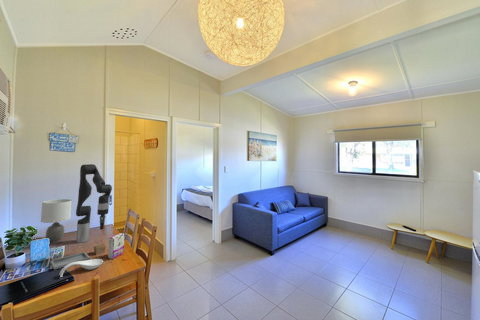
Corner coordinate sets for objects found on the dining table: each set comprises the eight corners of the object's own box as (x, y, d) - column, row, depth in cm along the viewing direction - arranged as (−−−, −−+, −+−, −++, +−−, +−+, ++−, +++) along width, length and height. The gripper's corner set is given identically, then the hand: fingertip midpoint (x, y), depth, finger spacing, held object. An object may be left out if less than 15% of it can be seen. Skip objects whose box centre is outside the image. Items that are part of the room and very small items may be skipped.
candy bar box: (119, 252, 162) (120, 232, 163) (124, 253, 161) (125, 233, 162) (107, 258, 151) (108, 237, 152) (112, 259, 150) (114, 238, 151)
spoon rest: (100, 261, 147) (100, 252, 147) (105, 267, 139) (105, 257, 139) (57, 274, 128) (58, 263, 128) (61, 281, 121) (61, 270, 121)
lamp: (73, 234, 197) (75, 198, 198) (62, 242, 178) (65, 202, 179) (47, 236, 190) (49, 199, 191) (33, 244, 170) (36, 203, 172)
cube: (93, 252, 160) (94, 245, 160) (102, 250, 165) (102, 243, 165) (96, 255, 156) (96, 247, 157) (104, 252, 161) (105, 245, 161)
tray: (50, 263, 140) (50, 260, 141) (84, 254, 156) (84, 251, 156) (53, 271, 132) (54, 267, 132) (89, 260, 147) (89, 257, 148)
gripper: (98, 206, 165) (97, 225, 165) (96, 210, 153) (95, 231, 153) (108, 206, 169) (107, 224, 169) (108, 209, 157) (107, 229, 157)
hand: (101, 227), depth 161 cm, fingers open, 8 cm apart
